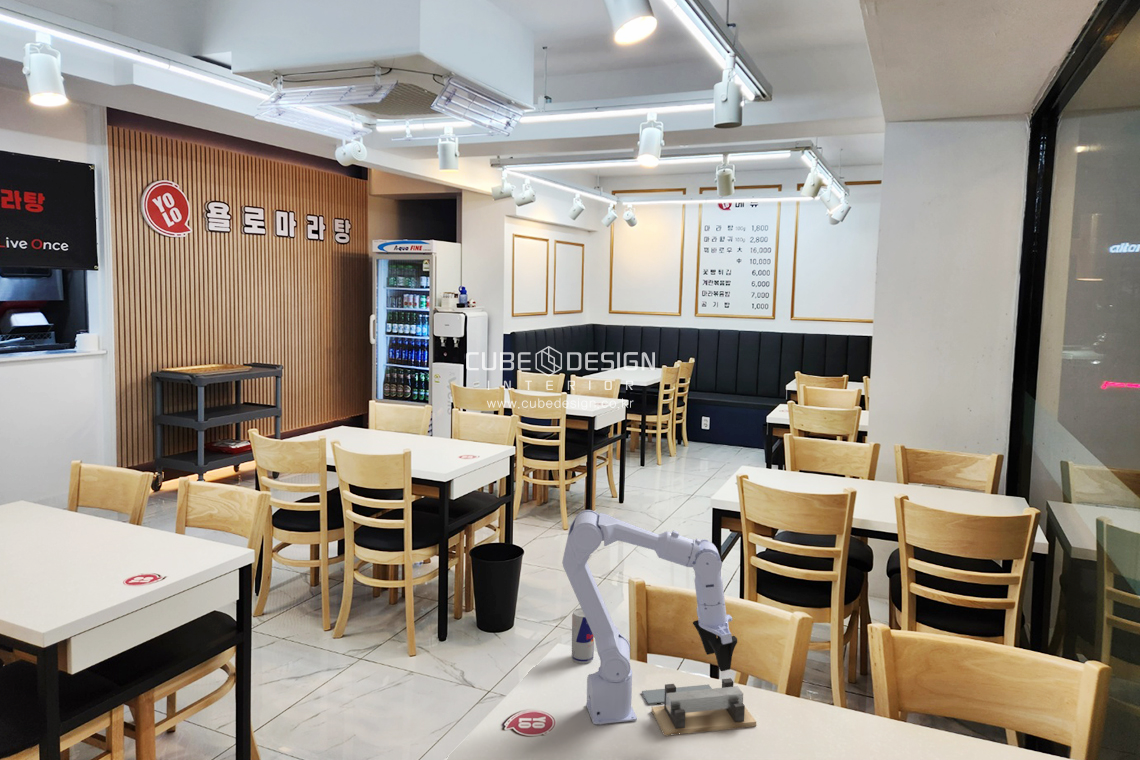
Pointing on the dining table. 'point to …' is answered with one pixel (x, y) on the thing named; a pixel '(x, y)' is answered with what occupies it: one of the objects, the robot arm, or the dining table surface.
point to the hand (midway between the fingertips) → (717, 661)
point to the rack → (702, 717)
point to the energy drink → (581, 638)
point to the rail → (704, 699)
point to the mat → (659, 694)
